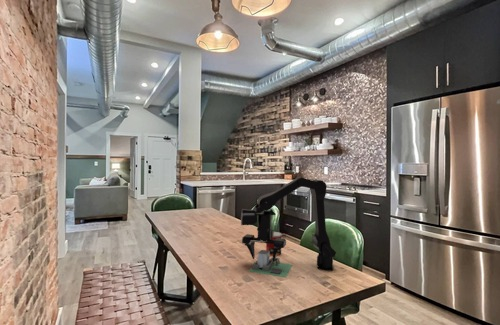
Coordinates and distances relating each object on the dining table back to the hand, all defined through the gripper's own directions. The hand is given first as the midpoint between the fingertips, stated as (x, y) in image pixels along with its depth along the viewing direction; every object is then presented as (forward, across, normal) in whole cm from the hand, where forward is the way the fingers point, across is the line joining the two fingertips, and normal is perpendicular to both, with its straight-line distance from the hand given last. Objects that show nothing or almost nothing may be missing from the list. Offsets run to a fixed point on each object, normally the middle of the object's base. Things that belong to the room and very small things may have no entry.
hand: (263, 260), depth 123 cm
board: (+4, -4, 0) cm, 5 cm away
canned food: (+4, +1, -20) cm, 20 cm away
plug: (+2, 0, 0) cm, 2 cm away
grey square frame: (+3, 0, 0) cm, 3 cm away
